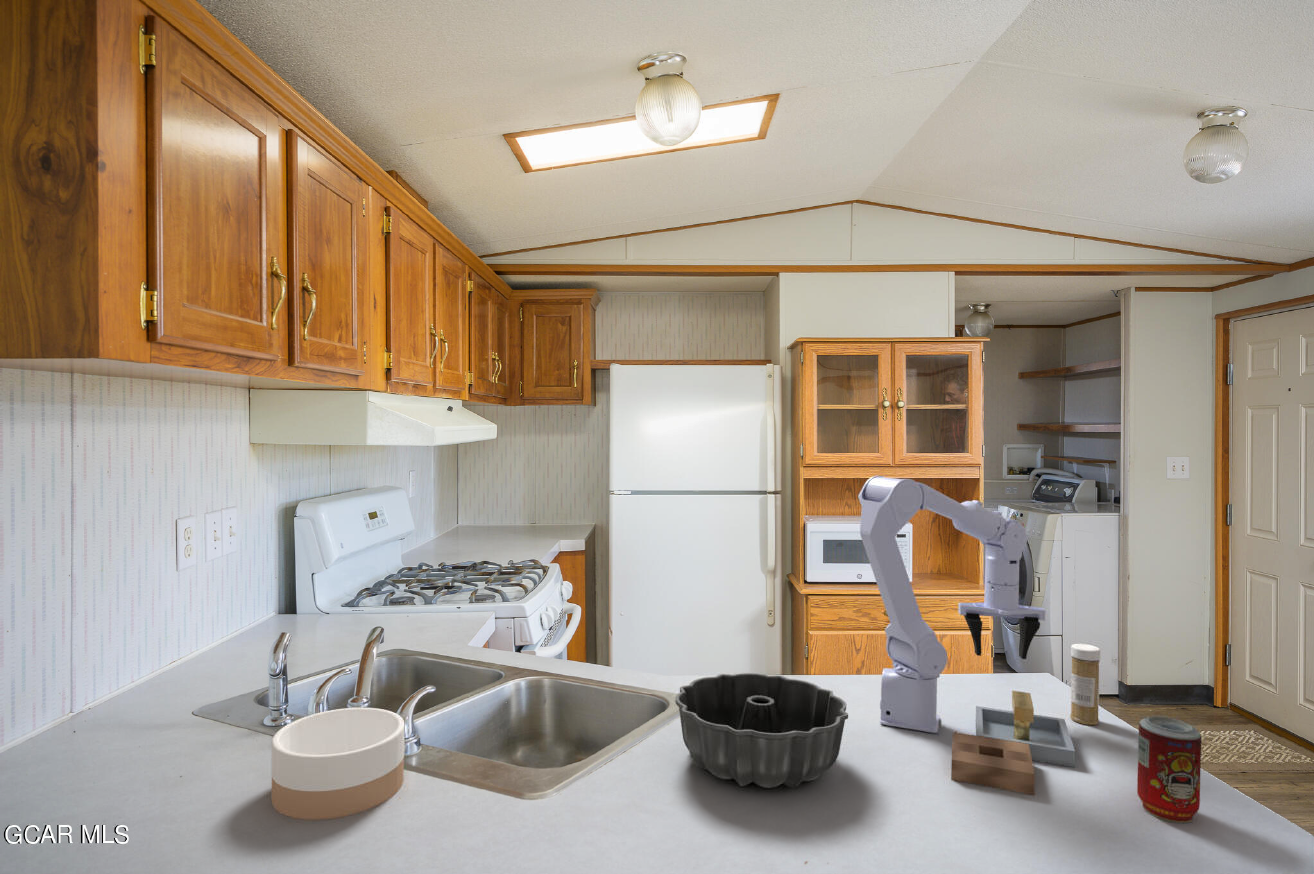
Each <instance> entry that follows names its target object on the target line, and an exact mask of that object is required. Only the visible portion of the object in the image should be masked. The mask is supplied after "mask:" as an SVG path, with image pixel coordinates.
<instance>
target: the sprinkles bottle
mask: <svg viewBox="0 0 1314 874" xmlns="http://www.w3.org/2000/svg"><path fill="white" fill-rule="evenodd" d="M1070 656H1071V675H1070V678H1071V681H1070V685H1071V686H1070V703H1071V704H1070V706H1071V708H1070V709H1071V710H1070V716H1069V717H1070V719H1071V720H1072V721H1074V722H1076V723H1078V724H1081V725H1088V726H1092V725H1094V726H1095V725H1097V724H1099V722H1100V719H1099V705H1100V684H1099V683H1100V682H1099V681H1100V680H1099V679H1100V660H1101V649H1100V648H1099V647H1097V646H1095V645H1092V644H1085V643H1074V644H1071V646H1070Z"/></svg>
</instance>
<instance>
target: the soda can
mask: <svg viewBox="0 0 1314 874" xmlns="http://www.w3.org/2000/svg"><path fill="white" fill-rule="evenodd" d="M1202 739H1203V738H1202V734H1201V733H1200V732H1199V730H1197V728H1195V727H1194V726H1192V725H1191V724H1190V723H1187V722H1186V721H1185V722H1184V721H1183V720H1180V719H1177V718H1173V717H1169V716H1163V715H1153V716H1152V715H1151V716H1146V717H1145V718H1143V719H1141V720H1140V721H1139V722H1138V741H1137V742H1138V744H1137V780H1136V781H1137V782H1136V783H1137V785H1136V787H1137V789H1136V792H1137V796H1138V797H1139V800H1140V802H1141V804H1142V808H1143V809H1144V811H1146V813H1149V815H1151V816H1153V817H1156V818H1157V819H1161V820H1164V821H1166V822H1167V821H1168V822H1172V823H1177V824H1184V823H1187V824H1188V823H1190V822H1192V821H1193V819H1194V816H1195V815H1196V814H1197V813H1198V811H1199V810H1200V804H1201V761H1202Z"/></svg>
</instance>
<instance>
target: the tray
mask: <svg viewBox="0 0 1314 874" xmlns="http://www.w3.org/2000/svg"><path fill="white" fill-rule="evenodd" d="M975 735H976V736H982V737H988V738H994V739H1000V740H1006V741H1012V742H1019V743H1025V744H1029V747H1030V752H1031V758H1032V761H1036V762H1040V761H1043V762H1042V763H1046V762H1048V764H1052V763H1053V765H1060V766H1064V765H1065V767H1069V768H1075V766H1076V764H1075V763H1076V750H1075V747H1074V744H1073V740H1072V738H1071V734H1070V731H1069V727H1068V726H1067V722H1066V720H1065V718H1062V717H1061V718H1060V717H1053V716H1048V715H1047V716H1046V715H1039V714H1034V718H1033V723H1030V741H1023V740H1017V739H1014V715H1013V710H1006V709H999V708H993V707H986V706H978V705H976V706H975Z"/></svg>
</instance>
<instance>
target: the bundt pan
mask: <svg viewBox="0 0 1314 874" xmlns="http://www.w3.org/2000/svg"><path fill="white" fill-rule="evenodd" d="M674 701H675V705H676V706H677V707H678V709H679V710H678V711H679V716H680V717H679V719H680V724H681V725H680V726H681V733H682V739H683V742H684V745H685V747H686V749H687V751H688V753H689V755H690V758H691V759H692V761H693V762H694V764H695V765H696V766H697V767H699V768H701V769H703V770H705V771H709V773H711V774H712V775H713V776H715V777H717V778H719V779H721V780H732V779H733V780H734V781H736V782H737V784H738V785H739V786H741V787H745V786H747V785H749V784H752V783H754V784H756V785H757V786H759V787H761V788H766V789H771V788H776V787H778V786H780V785H782V784H783V785H785V786H786V787H789V788H796V787H798V786H799V785H800V784H801V783H802V782H810V781H813V780H816V779H818V778H819V777H820V776H821V775H823V774H824V772H826V771H827V770H829V769H830V768H831V767H833V765H835V763H836V761H837V759H838V757H839V755H840V749H841V744H842V739H843V732H844V729H845V723H846V720H848V719H849V713H848V712H847V703H846V701H845V700H844V699H842V698H840V697H839V696H836V695H834V691H832V690H829V689H826V688H821V686H819V685H817V684H815V683H813V682H809V681H806V680H801V679H795V678H788V677H785V676H783V675H779V674H778V675H769V674H762V673H754V672H746V673H744V672H742V673H735V674H734V673H733V674H727V673H720V674H718V675H716V676H706V677H700V678H697V679H694V680H693V681H691V682H690V683H689V684H687V685H682V686H680V687H679V692H678V693H677V694H676V695H675V700H674Z"/></svg>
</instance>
